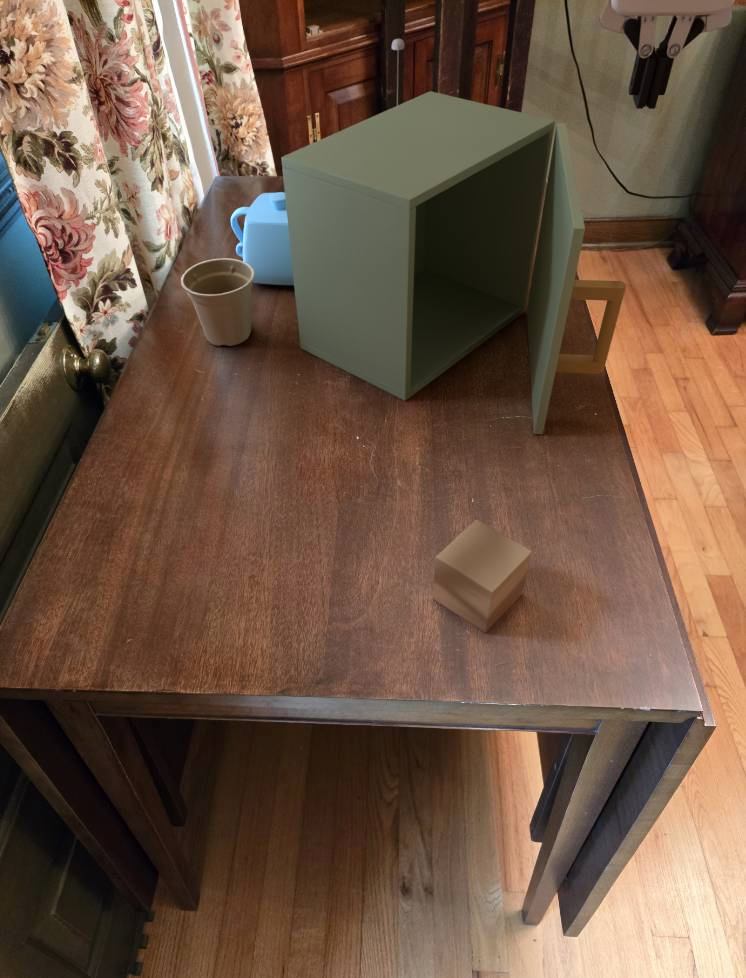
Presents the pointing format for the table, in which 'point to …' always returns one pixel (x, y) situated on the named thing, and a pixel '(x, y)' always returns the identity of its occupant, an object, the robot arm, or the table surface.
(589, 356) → the cupboard door
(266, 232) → the teapot
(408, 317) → the cupboard
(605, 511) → the table surface
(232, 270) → the flower pot
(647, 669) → the table surface
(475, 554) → the block
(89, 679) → the table surface
